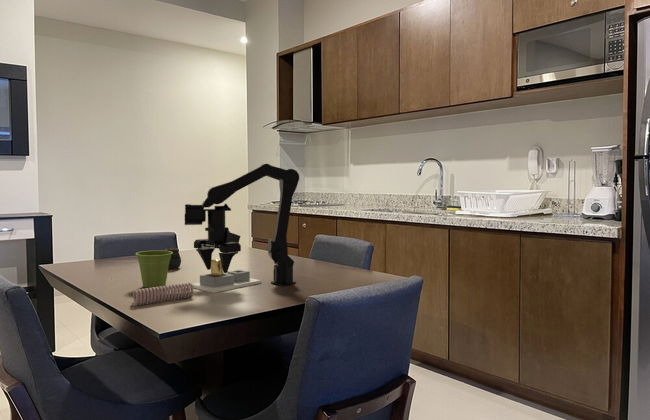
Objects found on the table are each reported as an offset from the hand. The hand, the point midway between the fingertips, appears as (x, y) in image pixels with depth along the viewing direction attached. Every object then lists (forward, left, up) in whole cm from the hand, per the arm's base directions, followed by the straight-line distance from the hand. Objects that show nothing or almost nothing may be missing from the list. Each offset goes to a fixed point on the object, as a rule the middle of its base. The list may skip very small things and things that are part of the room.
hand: (217, 271), depth 162 cm
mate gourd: (+43, -9, -6) cm, 44 cm away
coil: (-4, +22, -6) cm, 23 cm away
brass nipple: (0, 0, -4) cm, 4 cm away
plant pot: (+17, +13, -6) cm, 22 cm away
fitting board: (0, -4, -5) cm, 7 cm away
